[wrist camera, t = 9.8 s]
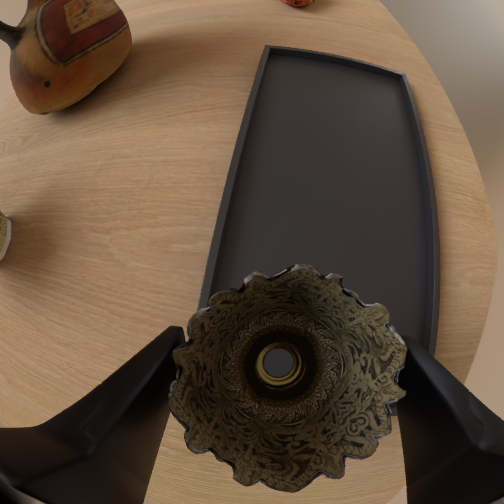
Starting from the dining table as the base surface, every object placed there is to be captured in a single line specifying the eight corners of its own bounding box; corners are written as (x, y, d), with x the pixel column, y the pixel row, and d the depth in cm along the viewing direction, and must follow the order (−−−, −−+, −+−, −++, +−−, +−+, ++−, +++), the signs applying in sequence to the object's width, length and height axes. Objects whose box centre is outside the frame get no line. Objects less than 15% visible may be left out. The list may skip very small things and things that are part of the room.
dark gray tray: (412, 409, 18) (422, 413, 16) (188, 388, 19) (182, 392, 18) (401, 82, 28) (405, 74, 26) (265, 54, 30) (265, 44, 28)
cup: (365, 351, 14) (446, 359, 7) (284, 443, 13) (300, 521, 5) (271, 273, 16) (279, 216, 8) (187, 365, 15) (122, 390, 7)
